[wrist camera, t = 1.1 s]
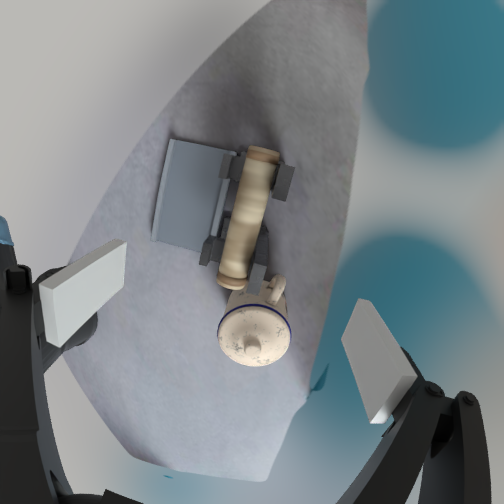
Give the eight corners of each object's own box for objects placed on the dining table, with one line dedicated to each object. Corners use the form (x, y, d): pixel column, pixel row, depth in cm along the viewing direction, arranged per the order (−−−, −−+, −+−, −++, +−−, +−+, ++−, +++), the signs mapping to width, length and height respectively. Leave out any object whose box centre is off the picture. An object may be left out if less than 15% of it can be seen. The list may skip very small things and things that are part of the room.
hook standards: (216, 243, 40) (190, 282, 27) (238, 150, 36) (220, 142, 23) (261, 255, 40) (257, 300, 27) (286, 163, 36) (296, 161, 23)
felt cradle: (154, 238, 41) (150, 241, 39) (173, 139, 36) (170, 138, 35) (213, 254, 41) (210, 257, 39) (237, 152, 36) (235, 152, 35)
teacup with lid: (270, 339, 44) (269, 389, 33) (217, 315, 44) (201, 362, 33) (309, 276, 41) (321, 317, 30) (251, 248, 40) (244, 281, 29)
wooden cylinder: (239, 277, 32) (249, 290, 30) (212, 275, 31) (220, 289, 28) (272, 152, 28) (286, 154, 26) (244, 144, 27) (256, 146, 24)
